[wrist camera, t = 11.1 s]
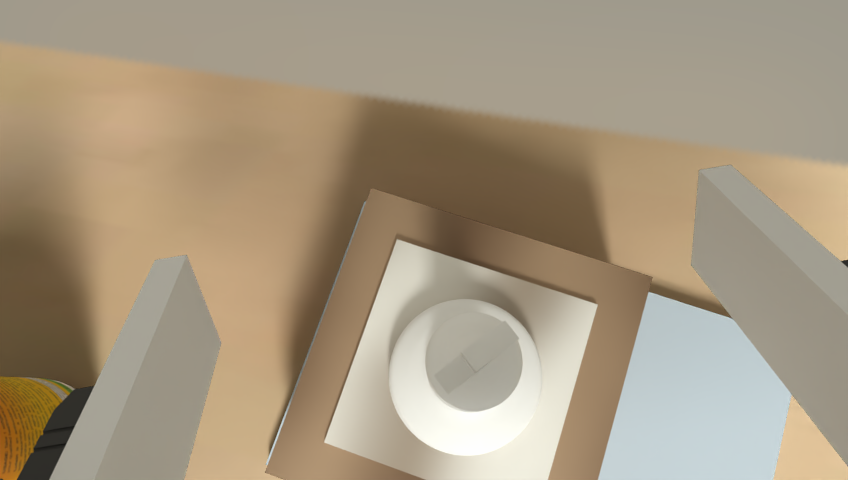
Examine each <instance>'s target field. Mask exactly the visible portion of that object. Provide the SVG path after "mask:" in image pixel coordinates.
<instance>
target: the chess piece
mask: <svg viewBox="0 0 848 480" xmlns="http://www.w3.org/2000/svg"><path fill="white" fill-rule="evenodd" d="M389 387H390V393H391V397H392V401H393V404H394V406H395V409H396V411H397V413H398V415H399V417H400V418H401V420H402V421H403V423H404V424H405V425H406V427H407V428H408V429H409V430H410V431H411V432H412V433H413V434H414V435H415V436H416V437H417V438H418V439H420V440H421V441H422V442H424V443H425V444H427V445H429V446H430V447H432V448H434V449H437V450H439V451H442V452H445V453H448V454H453V455H461V456H472V455H480V454H485V453H488V452H491V451H494V450H496V449H499V448H501V447H503V446H504V445H506V444H508V443H509V442H511V441H512V440H513V439H514V438H516V437H517V436H518V435H519V434H520V433H521V432H522V431H523V430H524V428H525V427H526V426H527V425H528V423H529V422H530V420H531V419H532V417H533V415H534V413H535V411H536V408H537V406H538V403H539V400H540V396H541V390H542V367H541V361H540V357H539V354H538V351H537V348H536V346H535V344H534V342H533V340H532V338H531V336H530V335H529V333H528V332H527V330H526V329H525V328H524V327H523V325H522V324H521V323H520V322H519V321H518V320H517V319H516V318H515V317H513V316H512V315H511V314H509V313H508V312H507V311H505V310H503V309H501V308H500V307H498V306H495V305H493V304H490V303H487V302H484V301H480V300H473V299H457V300H451V301H446V302H442V303H439V304H437V305H434V306H432V307H430V308H428V309H426V310H425V311H423V312H422V313H420V314H419V315H418V316H417V317H415V318H414V319H413V320H412V321H411V322H410V323H409V324H408V325H407V327H406V328H405V329H404V330H403V332H402V333H401V335H400V337H399V338H398V340H397V342H396V344H395V347H394V349H393V352H392V355H391V360H390V365H389Z"/></svg>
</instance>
